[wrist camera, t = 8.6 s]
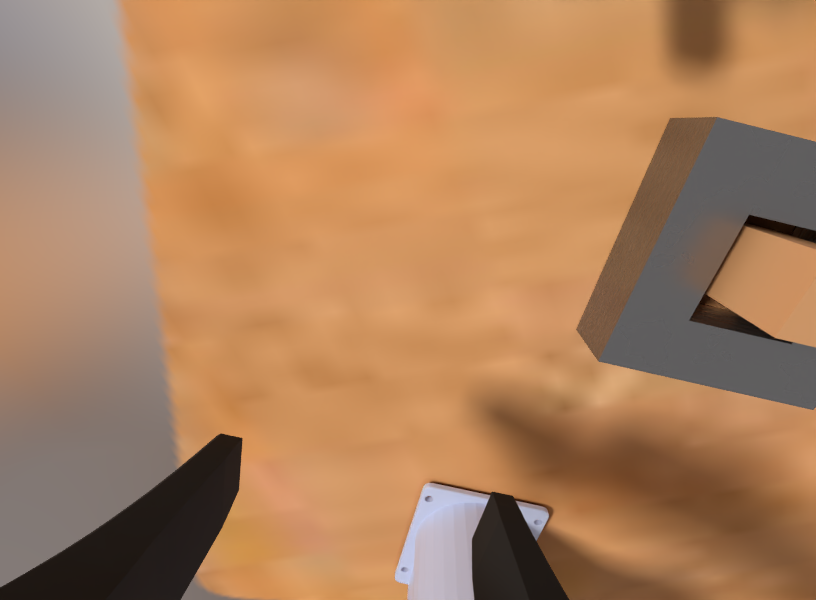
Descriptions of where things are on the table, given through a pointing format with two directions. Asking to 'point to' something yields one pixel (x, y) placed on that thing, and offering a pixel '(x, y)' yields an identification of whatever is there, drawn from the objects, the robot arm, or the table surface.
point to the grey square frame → (704, 261)
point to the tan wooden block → (770, 283)
